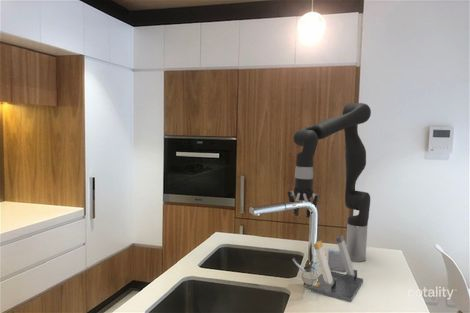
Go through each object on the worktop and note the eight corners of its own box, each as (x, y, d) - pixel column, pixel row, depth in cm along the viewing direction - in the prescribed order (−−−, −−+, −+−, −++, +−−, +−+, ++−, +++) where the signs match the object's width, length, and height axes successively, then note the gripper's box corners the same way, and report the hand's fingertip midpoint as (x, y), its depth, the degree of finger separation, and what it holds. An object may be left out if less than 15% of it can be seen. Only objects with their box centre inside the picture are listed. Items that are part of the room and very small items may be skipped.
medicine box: (345, 268, 161) (346, 249, 160) (346, 272, 157) (347, 253, 156) (327, 266, 163) (328, 247, 163) (327, 269, 159) (328, 251, 158)
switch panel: (325, 273, 155) (325, 263, 155) (363, 282, 147) (363, 271, 147) (309, 290, 138) (309, 279, 138) (350, 302, 130) (351, 290, 130)
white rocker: (329, 285, 140) (316, 241, 142) (335, 284, 139) (321, 240, 140) (326, 289, 136) (312, 244, 138) (331, 289, 135) (318, 243, 137)
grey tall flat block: (351, 276, 148) (338, 235, 150) (356, 276, 147) (343, 234, 149) (348, 280, 144) (335, 238, 146) (353, 280, 143) (340, 237, 145)
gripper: (323, 177, 150) (321, 217, 152) (291, 174, 158) (290, 212, 159) (317, 179, 144) (315, 221, 145) (284, 176, 151) (283, 215, 153)
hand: (302, 216), depth 152 cm, fingers open, 4 cm apart
